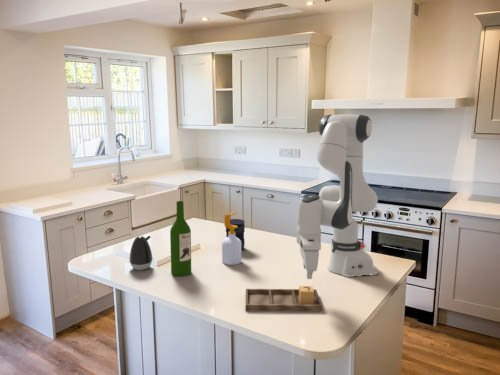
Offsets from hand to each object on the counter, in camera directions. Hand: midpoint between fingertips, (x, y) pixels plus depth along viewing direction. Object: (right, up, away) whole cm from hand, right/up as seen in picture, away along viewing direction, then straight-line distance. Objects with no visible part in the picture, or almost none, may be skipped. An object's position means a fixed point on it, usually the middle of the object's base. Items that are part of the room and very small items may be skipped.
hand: (307, 272), depth 158 cm
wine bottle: (-52, -6, +29) cm, 60 cm away
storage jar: (-30, 0, +62) cm, 68 cm away
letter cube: (0, -11, +2) cm, 11 cm away
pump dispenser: (-71, -5, +34) cm, 79 cm away
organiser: (-9, -12, +2) cm, 15 cm away
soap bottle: (-30, -4, +43) cm, 53 cm away
